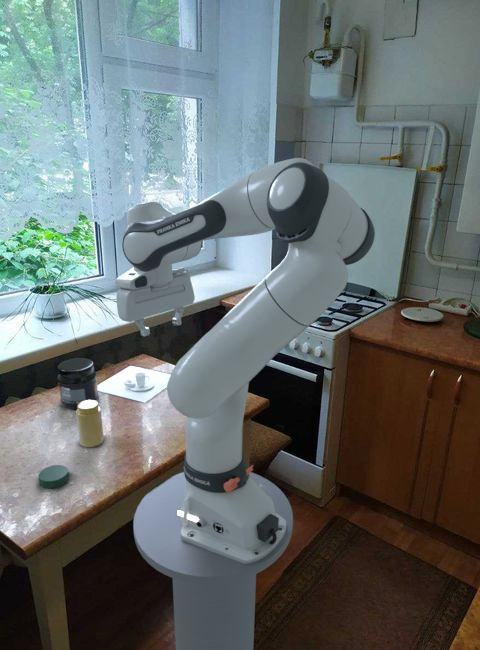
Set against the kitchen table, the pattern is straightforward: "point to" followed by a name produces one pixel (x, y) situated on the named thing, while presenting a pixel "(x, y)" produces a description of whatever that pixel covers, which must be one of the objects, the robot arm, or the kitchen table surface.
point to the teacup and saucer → (135, 383)
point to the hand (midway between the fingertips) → (161, 330)
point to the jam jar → (89, 423)
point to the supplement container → (77, 382)
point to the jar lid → (53, 476)
